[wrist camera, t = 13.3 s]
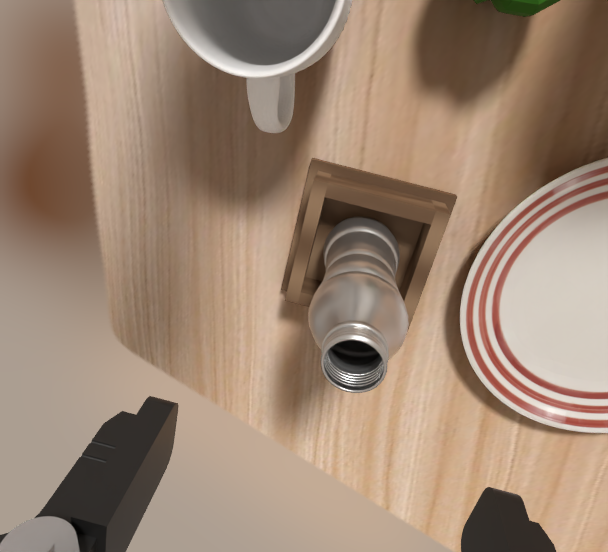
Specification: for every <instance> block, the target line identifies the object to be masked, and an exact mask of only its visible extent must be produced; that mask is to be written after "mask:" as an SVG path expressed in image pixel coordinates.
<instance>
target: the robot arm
mask: <svg viewBox="0 0 608 552" xmlns="http://www.w3.org/2000/svg"><path fill="white" fill-rule="evenodd" d="M177 414H178V403H174V402H170V401H167V400H162V399H158V398H155V397H151V396H150V397H148V398H147V399H146V401H145V402H144V404H143V405H142V407H141V408H140V410H139V412H138V413H137V415H135V414H131V413H127V412H124V411H122V412H120V413H119V414H117V415H116V416H114V417H113V418H111V419H110V420H108V421H107V422H105V423H104V424H103V425H102V427H101V428H100V430H99V431H98V432H97V434H96V435H95V437H94V438H93V439H92V442H91V443H90V444H89V445H88V446H87V448H86V449H85V451H84V452H83V454H82V456H81V457H80V458H79V459H78V460H77V462H76V463H75V465H74V466H73V467H72V469H71V470H70V472H69V473H68V475H67V476H66V477H65V479H64V480H63V481H62V483H61V484H60V486H59V487H58V488H57V490H56V491H55V493H54V494H53V496H52V497H51V498H50V500H49V501H48V503H47V504H46V505H45V507H44V508H43V509H42V511H41V512H40V513H39V514H38V515H37V516H36V517H35V518H34V519H31V520H28V521H26V522H24V523H22V524H20V525H19V526H17V527H15V528H14V529H13V530H12V531H10V532H9V533H6V534H3V535H0V552H126V550H127V548H128V546H129V544H130V542H131V540H132V537H133V535H134V533H135V531H136V529H137V527H138V525H139V523H140V521H141V519H142V517H143V515H144V513H145V511H146V509H147V507H148V505H149V503H150V501H151V499H152V497H153V495H154V493H155V491H156V489H157V487H158V485H159V483H160V480H161V478H162V476H163V474H164V472H165V470H166V468H167V465H168V463H169V460H170V457H171V453H172V449H173V444H174V436H175V429H176V421H177ZM461 552H556V550H555V547H554V544H553V543H552V542H551V540H550V539H549V537H548V536H547V534H546V533H545V532H544V530H543V529H542V527H541V526H540V525H539V523H536V522H532V521H529V518H528V515H527V512H526V509H525V506H524V502H523V500H522V498H521V497H520V496H519V495H517V494H513V493H509V492H506V491H502V490H498V489H494V488H490V487H487V488H486V489H485V490H484V491H483V493H482V495H481V497H480V498H479V500H478V502H477V504H476V506H475V507H474V509H473V511H472V513H471V515H470V516H469V518H468V520H467V522H466V524H465V526H464V529H463V532H462V538H461Z"/></svg>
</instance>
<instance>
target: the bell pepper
mask: <svg viewBox="0 0 608 552" xmlns="http://www.w3.org/2000/svg"><path fill="white" fill-rule="evenodd" d="M485 1H488V0H474V2H475V3H476V4H478V3H481V2H485ZM558 1H560V0H491V2H492V3H493V5H494V7H495V8H496V9H497V10H498V11H499V12H502V13H508V14H513V15H518V16H524V17H526V16H531V15H534V14H536V13H538V12H540V11H542V10H543V9H545V8H547V7H549V6H551V5H553V4H555V3H556V2H558Z"/></svg>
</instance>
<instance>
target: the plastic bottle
mask: <svg viewBox="0 0 608 552" xmlns="http://www.w3.org/2000/svg"><path fill="white" fill-rule="evenodd" d="M323 255H324V264H325V267H326V273H325V276H324V279H323V281H322V283H321V284H320V286H319V288H318V289H317V291H316V292H315V294H314V296H313V298H312V301H311V304H310V307H309V311H308V321H309V327H310V330H311V333H312V336H313V338H314V341H315V342H316V344H317V346H318V347H319V348H320V349H321V352H322V355H321V367H322V371H323V374H324V375H325V377H326V379H327V380H328V381H329V382H330V383H331V384H332V385H334V386H335V387H337V388H339V389H341V390H343V391H346V392H351V393H362V392H367V391H370V390H372V389H374V388H376V387H377V386H378V385H379V384H380V383H381V382H382V381H383V379H384V377H385V375H386V372H387V363H388V360H389V359H390V358H392V357H393V356H394V355H395V354H396V353H397V351H398V350H399V349H400V347H401V346H402V344H403V342H404V339H405V337H406V335H407V331H408V326H409V322H408V314H407V310H406V307H405V303H404V301H403V299H402V297H401V294H400V292H399V290H398V288H397V285H396V281H395V274H396V271H397V269H398V264H399V258H400V252H399V246H398V243H397V241H396V239H395V237H394V235H393V234H392V233H391V232H390V230H389V229H388V228H387V227H386V226H385V225H384V224H383V223H381V222H379V221H378V220H376V219H373V218H370V217H364V216H357V217H351V218H348V219H345V220H343V221H342V222H340V223H339V224H337V225H336V226H335V227H334V228H333V230H332V231H331V232H330V233H329V235H328V236H327V238H326V240H325V244H324V249H323Z"/></svg>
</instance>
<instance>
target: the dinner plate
mask: <svg viewBox="0 0 608 552" xmlns="http://www.w3.org/2000/svg"><path fill="white" fill-rule="evenodd" d="M460 329H461V337H462V342H463V346H464V349H465V352H466V355H467V358H468V360H469V362H470V365H471V366H472V368H473V370H474V372H475V373H476V375H477V376H478V378H479V379H480V380H481V382H482V383H483V384H484V385H485V387H486V388H487V389H488V390H489V391H490V392H491V393H492V394H493V395H494V396H495V397H496V398H498V399H499V400H500V401H501V402H502V403H504V404H505V405H507V406H508V407H510V408H511V409H513V410H514V411H516V412H517V413H519V414H521V415H523V416H525V417H527V418H529V419H532V420H534V421H537V422H539V423H542V424H545V425H548V426H552V427H556V428H560V429H565V430H570V431H576V432H586V433H608V158H605V159H602V160H599V161H596V162H593V163H590V164H587V165H584V166H582V167H579V168H577V169H575V170H573V171H571V172H568V173H566V174H564V175H562V176H561V177H559V178H557V179H555V180H553V181H551V182H550V183H548V184H546V185H545V186H543V187H542V188H540V189H539V190H537V191H536V192H534V193H533V194H531V195H530V196H529V197H527V198H526V199H525V200H524V201H522V202H521V203H520V204H519V205H518V206H516V207H515V208H514V209H513V210H512V211H511V212H510V213H509V214H508V215H507V216H506V217H505V218H504V219H503V220H502V221H501V222H500V223H499V225H498V226H497V227H496V228H495V229H494V231H493V232H492V233H491V234H490V236H489V237H488V239H487V240H486V242H485V243H484V245H483V246H482V247H481V249H480V251H479V253H478V255H477V256H476V258H475V260H474V262H473V264H472V266H471V269H470V271H469V273H468V276H467V279H466V282H465V285H464V289H463V293H462V298H461V305H460Z"/></svg>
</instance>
